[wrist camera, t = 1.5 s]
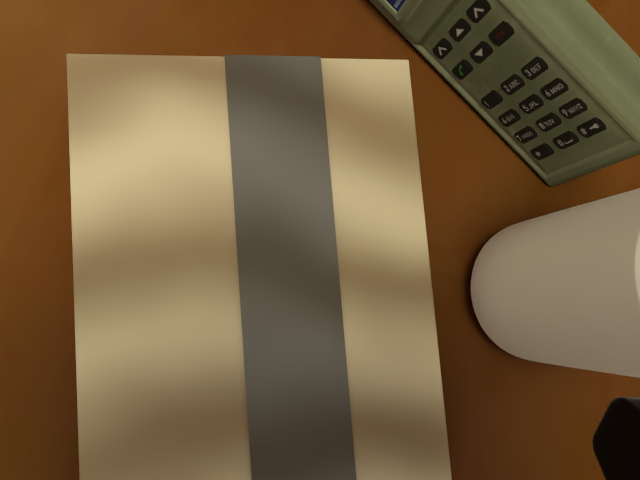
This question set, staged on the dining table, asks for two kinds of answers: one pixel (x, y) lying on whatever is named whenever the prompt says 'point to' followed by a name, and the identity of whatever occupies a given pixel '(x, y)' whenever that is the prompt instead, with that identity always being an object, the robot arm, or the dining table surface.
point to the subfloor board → (251, 271)
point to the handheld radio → (534, 76)
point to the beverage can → (566, 287)
